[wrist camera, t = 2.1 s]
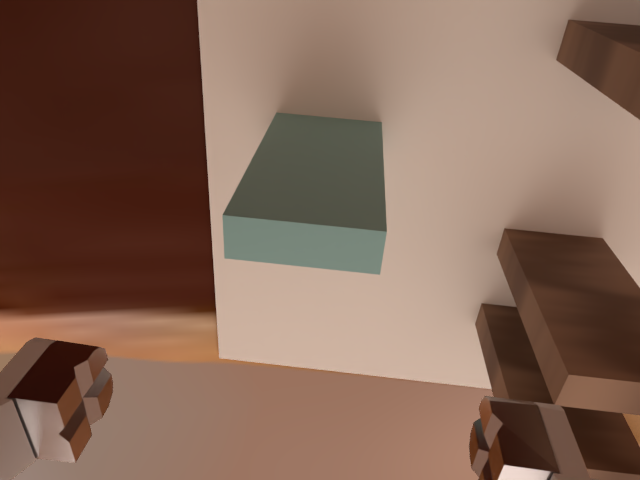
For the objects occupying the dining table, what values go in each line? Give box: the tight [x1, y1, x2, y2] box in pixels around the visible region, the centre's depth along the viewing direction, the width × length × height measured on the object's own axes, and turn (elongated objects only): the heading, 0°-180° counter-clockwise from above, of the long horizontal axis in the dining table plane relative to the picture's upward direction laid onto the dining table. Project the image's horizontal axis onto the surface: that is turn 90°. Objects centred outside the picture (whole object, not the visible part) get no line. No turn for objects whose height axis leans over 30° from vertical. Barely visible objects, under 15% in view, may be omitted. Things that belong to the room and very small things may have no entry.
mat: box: [197, 0, 640, 389], centre depth 24 cm, size 24×30×1 cm
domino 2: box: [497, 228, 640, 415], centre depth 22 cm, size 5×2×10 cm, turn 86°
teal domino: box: [222, 112, 387, 275], centre depth 20 cm, size 5×2×10 cm, turn 86°
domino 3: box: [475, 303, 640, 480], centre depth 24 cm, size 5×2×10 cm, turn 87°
